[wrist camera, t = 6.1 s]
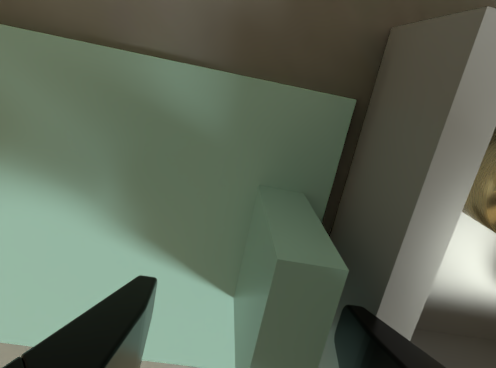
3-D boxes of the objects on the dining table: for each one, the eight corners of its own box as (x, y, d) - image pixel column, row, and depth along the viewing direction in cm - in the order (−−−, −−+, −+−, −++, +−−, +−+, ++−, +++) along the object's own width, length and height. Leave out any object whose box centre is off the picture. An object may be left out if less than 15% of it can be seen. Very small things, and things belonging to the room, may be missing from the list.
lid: (275, 360, 14) (300, 522, 9) (-61, 316, 13) (-245, 477, 8) (347, 97, 11) (443, 123, 6) (-75, 7, 10) (-380, -50, 5)
